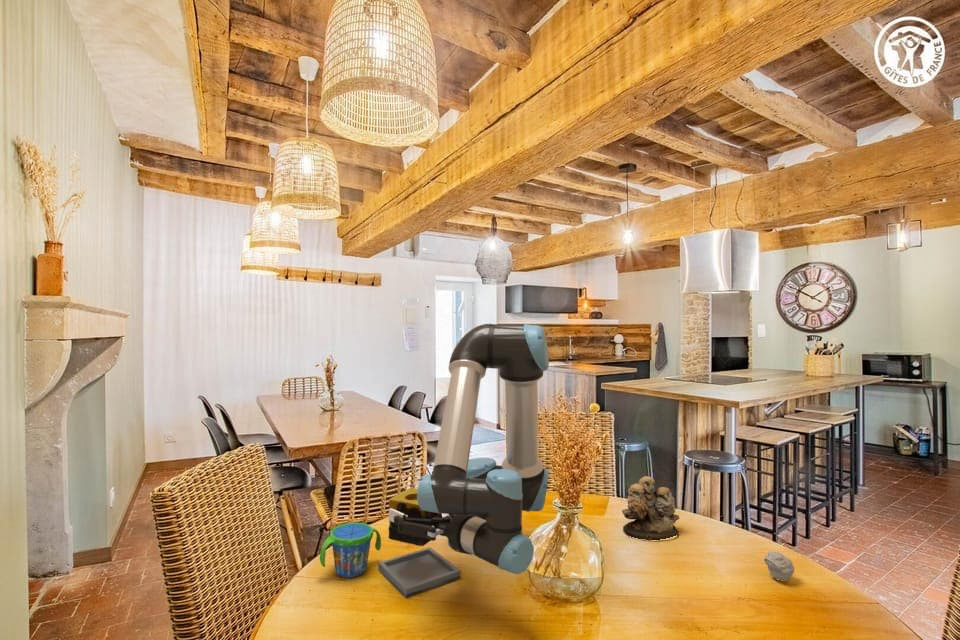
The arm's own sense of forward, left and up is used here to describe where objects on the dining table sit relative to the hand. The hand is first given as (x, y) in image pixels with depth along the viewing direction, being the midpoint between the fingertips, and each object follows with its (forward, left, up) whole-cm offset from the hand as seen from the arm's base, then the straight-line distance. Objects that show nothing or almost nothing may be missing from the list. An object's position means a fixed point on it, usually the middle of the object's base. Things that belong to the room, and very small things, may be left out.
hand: (410, 507), depth 122 cm
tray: (-1, +3, -16) cm, 16 cm away
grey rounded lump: (-74, +56, -16) cm, 94 cm away
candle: (0, +2, -7) cm, 7 cm away
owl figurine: (-71, +21, -16) cm, 76 cm away
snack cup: (+12, -8, -16) cm, 22 cm away
